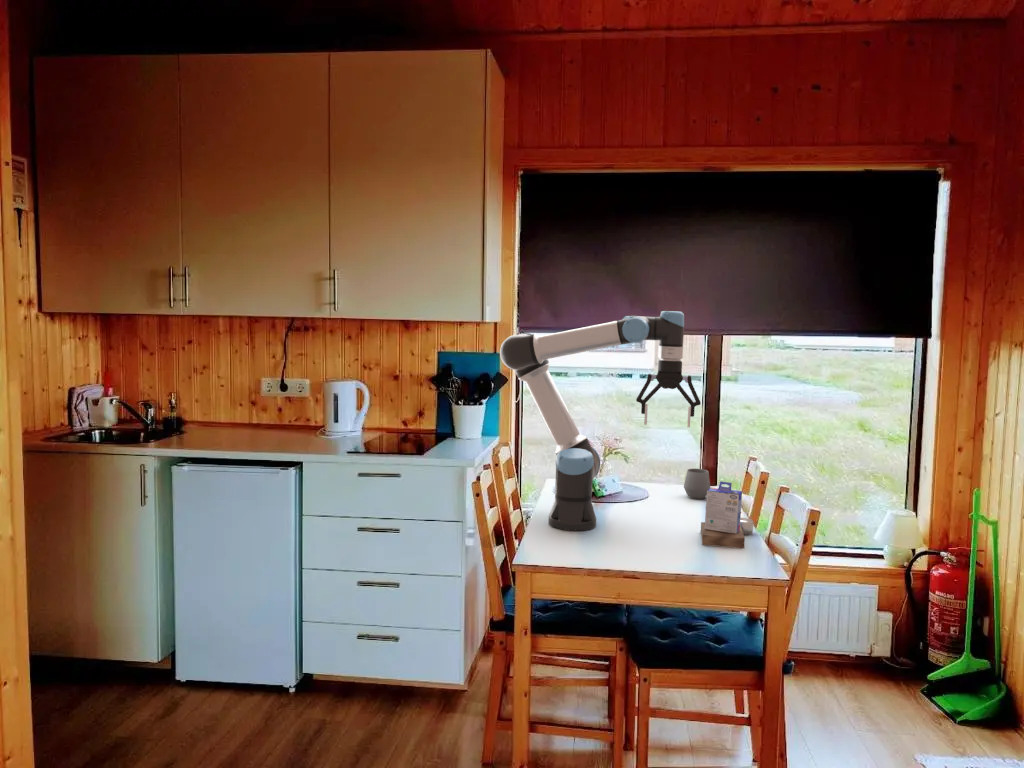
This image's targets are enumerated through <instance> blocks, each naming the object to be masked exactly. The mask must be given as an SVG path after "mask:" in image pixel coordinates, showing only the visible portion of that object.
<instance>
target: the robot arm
mask: <svg viewBox="0 0 1024 768" xmlns="http://www.w3.org/2000/svg"><path fill="white" fill-rule="evenodd" d="M684 333H685V314H684V313H683V311H678V310H677V311H673V310H671V311H670V310H663V311H660V315H659V316H641V315H626V316H624V317H623V318H622V319H619V320H613V321H610V322H605V323H600V324H598V323H597V324H594V325H589V326H585V327H584V326H583V327H580V328H574V329H569V330H564V331H559V332H555V333H554V332H553V333H549V334H544V335H539V334H537V333H534V334H533V333H528V332H522V333H518V334H512V335H510V336H508V337H506V339H505V340H504V341H503V342H502V343H501V345H500V349H499V356H500V360H501V361H502V363H503V364H504V366H506V367H507V368H508V369H510V370H513V371H514V373H515V375H516V377H517V379H518V380H519V381H522V382H524V383H525V384H526V387H527V389H528V390H529V393H530V395H531V397H532V399H533V401H534V402H535V404H536V407H537V408H538V410H539V413H540V415H541V417H542V418H543V421H544V422H545V425H546V426H547V428H548V430H549V432H550V435H551V436H552V439H553V441H554V442H555V444H556V448H555V449H556V450H555V454H556V458H555V459H556V460H555V481H554V482H555V486H554V489H555V490H554V491H555V492H554V501H553V504H552V506H551V510H550V512H549V515H548V525H549V526H550V527H552V528H554V529H558V530H564V531H575V532H576V531H578V532H579V531H587V530H588V531H589V530H591V529H594V528H596V527H597V516H596V514H595V513H596V511H595V510H594V506H593V502H592V501H593V500H592V498H593V497H592V495H593V480H594V479H595V477H597V476H598V474H599V472H600V468H601V458H600V455H599V453H598V452H597V450H596V449H595V448H594V447H593V446H592V444H591V443H590V441H589V439H588V437H587V436H585V435H582V434H581V433H580V431H579V430H578V427H577V425H576V424H575V422H574V420H573V418H572V415H571V413H570V411H569V410H568V408H567V405H566V404H565V403H566V402H565V401H564V399H563V397H562V396H561V393H560V392H559V389H558V388H557V386H556V384H555V381H554V379H553V378H552V376H551V374H550V372H549V369H550V364H551V363H550V361H549V359H550V360H551V359H555V358H560V357H566V356H571V355H575V354H580V353H585V352H586V353H587V352H589V351H590V352H591V351H596V350H600V349H606V348H612V347H615V346H616V347H617V346H622V345H627V344H633V343H641V342H643V341H658V343H659V344H658V358H659V359H658V361H657V374H652V373H648V374H647V377H646V378H647V379H646V381H645V383H644V385H643V387H642V388H641V390H640V392H639V394H638V396H637V398H636V399H635V400H636V402H637V403H640V404H641V411H640V412H641V415H644V422H643V423H644V424H643V425H645V426H647V424H648V410H649V409H648V406H649V403H647V402H648V401H649V400H650V399H651V398H652V397H653V396H654V395H655V394H656V393H657V392H658V390H660V389H667V390H668V389H670V390H675V389H677V390H678V391H679V392H680V393H681V395H682V396H683V398H684V399H685V400H686V401H687V403H688V404H689V405H688V406H687V407H688V408H687V423H686V424H687V428H690V427H691V417H692V418H694V417H695V407H697V406H700V405H701V400H700V398H699V396H698V393H697V391H696V390H695V387H694V384H693V383H692V382H693V381H692V376H691V375H689V374H688V375H684V376H683V374H682V370H683V361H682V359H683V358H684V357H683V355H684V354H683V351H684V335H685V334H684ZM655 379H656V380H657V384H656V386H654V387H653V389H652V390H651V391H650V392H648V393H647V395H646V396H644V394H645V392H646V391H647V389H648V388H649V385H650V384H651V382H653V381H654V380H655ZM682 381H684V382H685V383H687V384H688V387H689V390H690V392H691V394H692V396H693V398H694V400H695V401H693V400H692V399H691V397H690V396H689V394H688V393H687V392H686V390H684V388H683V387H682V385H681V383H682ZM643 397H644V398H643Z"/></svg>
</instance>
